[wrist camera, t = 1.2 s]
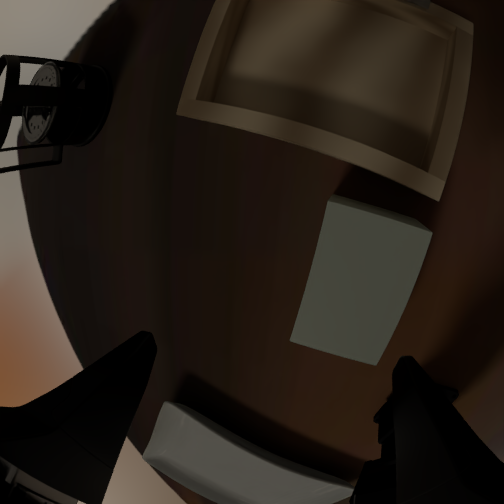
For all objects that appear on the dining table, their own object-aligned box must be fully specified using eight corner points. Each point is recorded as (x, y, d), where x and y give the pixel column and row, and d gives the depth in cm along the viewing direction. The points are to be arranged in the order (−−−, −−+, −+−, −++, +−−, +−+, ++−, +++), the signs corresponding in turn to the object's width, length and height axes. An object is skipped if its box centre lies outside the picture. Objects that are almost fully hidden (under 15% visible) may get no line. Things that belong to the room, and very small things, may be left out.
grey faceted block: (414, 218, 16) (432, 232, 12) (374, 329, 20) (376, 365, 15) (332, 193, 18) (328, 200, 14) (302, 308, 21) (289, 340, 17)
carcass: (459, 40, 11) (479, 16, 7) (424, 195, 15) (445, 204, 12) (246, -14, 14) (224, -41, 10) (200, 119, 19) (165, 112, 15)
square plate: (150, 447, 40) (139, 460, 37) (180, 380, 29) (162, 400, 26) (270, 509, 36) (264, 523, 33) (366, 471, 25) (362, 494, 21)
